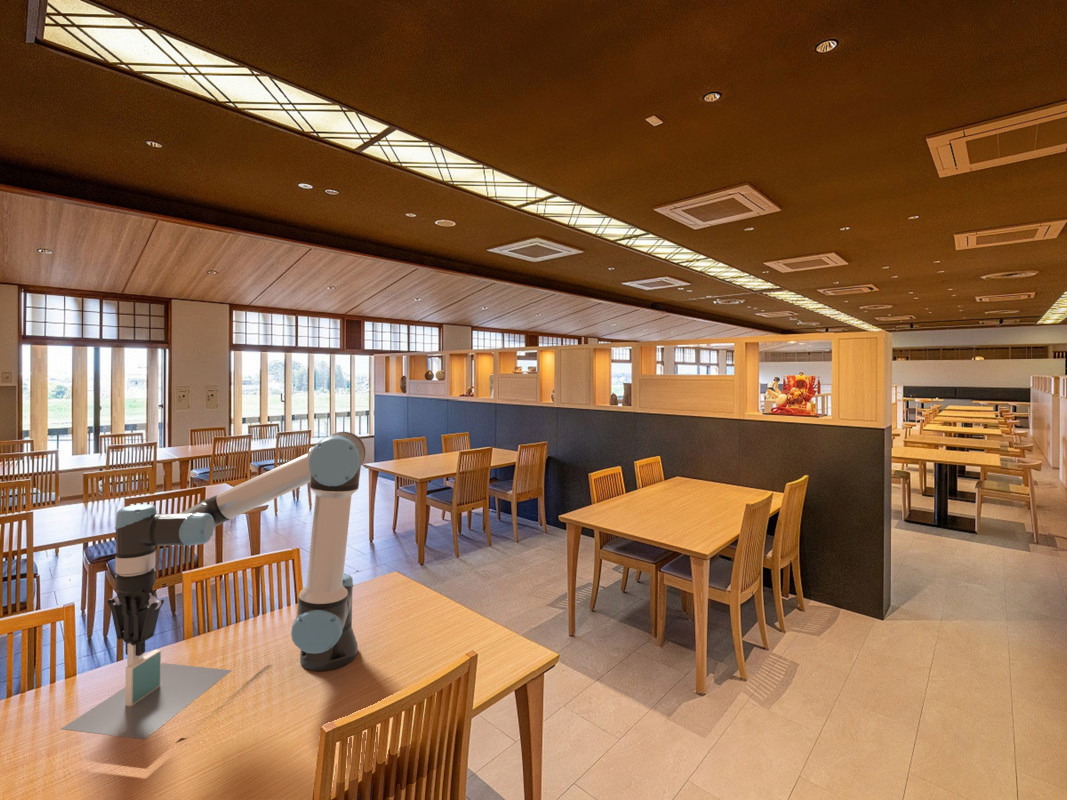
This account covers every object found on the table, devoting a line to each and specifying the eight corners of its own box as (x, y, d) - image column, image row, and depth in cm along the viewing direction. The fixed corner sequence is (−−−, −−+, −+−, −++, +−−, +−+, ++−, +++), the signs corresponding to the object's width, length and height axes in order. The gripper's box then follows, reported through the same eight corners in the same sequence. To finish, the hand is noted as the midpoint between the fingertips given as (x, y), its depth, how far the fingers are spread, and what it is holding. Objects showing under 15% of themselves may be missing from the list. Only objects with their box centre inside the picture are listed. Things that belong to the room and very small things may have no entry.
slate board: (231, 674, 132) (231, 670, 132) (144, 744, 106) (144, 739, 106) (162, 667, 134) (162, 662, 134) (60, 734, 109) (60, 728, 109)
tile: (161, 685, 125) (161, 650, 124) (131, 706, 117) (132, 668, 116) (154, 685, 125) (155, 649, 124) (125, 705, 117) (125, 667, 116)
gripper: (173, 567, 123) (172, 661, 124) (125, 563, 125) (125, 656, 125) (146, 578, 116) (146, 679, 116) (96, 574, 117) (95, 674, 118)
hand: (135, 667), depth 121 cm, fingers closed
